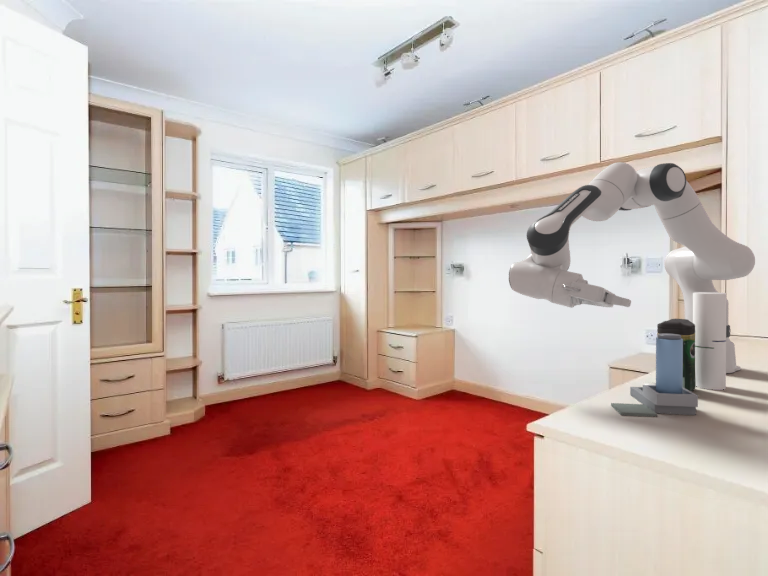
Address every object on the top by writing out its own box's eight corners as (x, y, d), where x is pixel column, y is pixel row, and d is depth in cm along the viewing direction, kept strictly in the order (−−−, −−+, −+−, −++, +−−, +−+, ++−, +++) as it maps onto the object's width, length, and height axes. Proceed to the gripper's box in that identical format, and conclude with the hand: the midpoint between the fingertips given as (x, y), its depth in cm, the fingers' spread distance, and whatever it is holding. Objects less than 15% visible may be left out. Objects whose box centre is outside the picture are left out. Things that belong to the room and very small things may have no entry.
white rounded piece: (640, 394, 109) (640, 382, 109) (658, 394, 108) (658, 382, 108) (646, 398, 105) (646, 386, 105) (665, 399, 104) (665, 386, 104)
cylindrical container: (731, 390, 113) (732, 293, 112) (700, 389, 114) (701, 293, 113) (716, 383, 120) (717, 292, 119) (687, 382, 121) (687, 292, 120)
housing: (630, 394, 110) (630, 376, 110) (665, 395, 108) (665, 377, 108) (656, 414, 94) (656, 393, 94) (698, 416, 93) (698, 395, 93)
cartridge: (652, 397, 100) (652, 333, 100) (676, 398, 99) (676, 333, 99) (661, 403, 96) (661, 336, 95) (686, 404, 95) (687, 336, 94)
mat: (611, 405, 101) (611, 402, 101) (644, 406, 100) (644, 404, 100) (621, 415, 94) (621, 412, 94) (656, 416, 93) (656, 413, 93)
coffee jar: (663, 384, 120) (663, 316, 120) (698, 389, 114) (698, 318, 114) (653, 390, 113) (653, 319, 113) (689, 396, 108) (689, 321, 107)
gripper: (563, 272, 103) (628, 286, 95) (581, 281, 119) (638, 294, 111) (556, 298, 103) (620, 314, 95) (575, 304, 120) (631, 318, 112)
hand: (630, 303), depth 103 cm, fingers closed
